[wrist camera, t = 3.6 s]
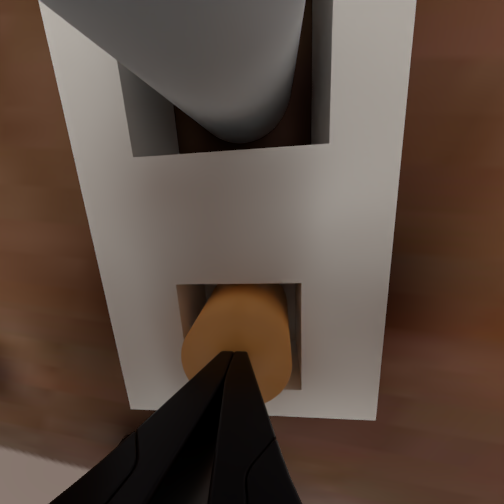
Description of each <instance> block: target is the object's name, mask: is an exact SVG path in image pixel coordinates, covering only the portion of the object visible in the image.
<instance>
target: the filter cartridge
mask: <svg viewBox="0 0 504 504" xmlns="http://www.w3.org/2000/svg"><path fill="white" fill-rule="evenodd" d="M39 1H41V2H42V3H43V4H45V5H46V6H47V7H48V8H50V9H51V10H52V11H54V12H55V13H56V14H58V15H59V16H60V17H61V18H63V19H64V20H65V21H67V22H68V23H69V24H70V25H72V26H73V27H74V28H76V29H77V30H78V31H80V32H81V33H82V34H83V35H85V36H86V37H87V38H89V39H90V40H91V41H92V42H94V43H95V44H96V45H98V46H99V47H100V48H102V49H103V50H104V51H105V52H107V53H108V54H109V55H111V56H112V57H113V58H114V59H116V60H117V61H118V62H120V63H121V64H122V65H124V66H125V67H126V68H127V69H129V70H130V71H131V72H133V73H134V74H135V75H136V76H138V77H139V78H140V79H142V80H143V81H144V82H146V83H147V84H148V85H149V86H151V87H152V88H153V89H155V90H156V91H157V92H158V93H160V94H161V95H162V96H164V97H165V98H166V99H168V100H169V101H170V102H171V103H173V104H174V105H175V106H177V107H178V108H179V109H180V110H182V111H183V112H184V113H186V114H187V115H188V116H190V117H191V118H192V119H193V120H195V121H196V122H197V123H199V124H200V125H201V126H202V127H204V128H205V129H206V130H208V131H209V132H210V133H212V134H213V135H214V136H216V137H218V138H219V139H222V140H224V141H227V142H231V143H249V142H253V141H256V140H258V139H260V138H262V137H264V136H265V135H267V134H268V133H270V132H271V131H272V130H273V129H274V128H275V127H276V126H277V125H278V123H279V122H280V121H281V119H282V118H283V116H284V114H285V112H286V110H287V107H288V105H289V101H290V97H291V91H292V85H293V78H294V72H295V66H296V59H297V53H298V46H299V40H300V33H301V27H302V21H303V14H304V8H305V1H306V0H39Z"/></svg>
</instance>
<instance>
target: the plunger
mask: <svg viewBox="0 0 504 504" xmlns="http://www.w3.org/2000/svg"><path fill="white" fill-rule="evenodd" d="M221 351H233V352H235V351H246V352H247V353H248V356H249V359H250V362H251V365H252V368H253V371H254V374H255V377H256V379H257V382H258V385H259V388H260V391H261V394H262V397H263V400H264V403H266V402H268V401H270V400H272V399H273V398H275V397H276V396H277V395H278V394H280V393H281V392H282V390H283V389H284V388H285V386H286V385H287V383H288V381H289V379H290V376H291V371H292V356H291V344H290V332H289V320H288V308H287V299H286V295H285V292H284V290H283V288H282V286H281V285H280V284H279V283H261V284H217V286H216V287H215V289H214V291H213V292H212V294H211V296H210V297H209V299H208V301H207V302H206V304H205V306H204V307H203V309H202V310H201V312H200V314H199V315H198V317H197V319H196V320H195V322H194V324H193V325H192V327H191V329H190V330H189V332H188V334H187V335H186V337H185V339H184V342H183V345H182V350H181V361H182V366H183V369H184V372H185V374H186V376H187V378H188V380H190V379H191V378H193V377H194V376H195V375H196V374H197V373H198V372H199V371H200V370H201V369H202V368H203V367H205V366H206V365H207V364H208V363H209V362H210V361H211V360H212V359H213V358H214V357H215V356H216V355H218V354H219V353H220V352H221Z"/></svg>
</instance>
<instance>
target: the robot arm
mask: <svg viewBox="0 0 504 504" xmlns="http://www.w3.org/2000/svg"><path fill="white" fill-rule="evenodd" d="M49 504H302V503H301V500H300V498H299V496H298V493H297V491H296V489H295V487H294V484H293V482H292V480H291V477H290V475H289V472H288V469H287V467H286V464H285V461H284V459H283V456H282V453H281V450H280V447H279V444H278V441H277V440H276V436H275V433H274V430H273V427H272V424H271V421H270V418H269V415H268V412H267V409H266V406H265V403H264V400H263V397H262V394H261V391H260V388H259V385H258V382H257V379H256V377H255V374H254V371H253V368H252V365H251V362H250V359H249V356H248V353H247V352H246V351H235V352H233V351H221V352H220V353H219V354H218V355H216V356H215V357H214V358H213V359H212V360H211V361H210V362H209V363H208V364H207V365H206V366H205V367H203V368H202V369H201V370H200V371H199V372H198V373H197V374H196V375H195V376H194V377H193V378H191V379H190V380H189V381H188V382H187V383H186V384H185V385H184V386H183V387H182V388H181V389H180V390H178V391H177V392H176V393H175V394H174V395H173V396H172V397H171V398H170V399H169V400H168V401H166V402H165V403H164V404H163V405H162V406H161V407H160V408H159V409H158V410H157V411H156V412H155V413H153V414H152V415H151V416H150V417H149V418H148V419H147V420H146V421H145V422H144V423H143V424H142V425H140V426H139V427H138V428H137V429H136V432H133V433H132V434H130V435H129V436H128V437H127V438H124V439H122V440H121V442H120V444H119V445H118V446H117V447H116V448H115V449H114V450H113V451H112V452H111V453H109V454H108V455H107V456H106V457H105V458H104V459H103V460H101V461H100V462H99V463H98V464H97V465H96V466H94V467H93V468H92V469H91V470H90V471H88V472H87V473H86V474H85V475H84V476H82V477H81V478H80V479H79V480H78V481H77V482H75V483H74V484H73V485H71V486H70V487H69V488H68V489H66V490H65V491H64V492H63V493H61V494H60V495H59V496H58V497H56V498H55V499H54V500H53V501H51V502H50V503H49Z"/></svg>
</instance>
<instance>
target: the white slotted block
mask: <svg viewBox="0 0 504 504" xmlns="http://www.w3.org/2000/svg"><path fill="white" fill-rule="evenodd" d="M38 1H39V0H38ZM39 5H40V10H41V14H42V18H43V23H44V27H45V32H46V36H47V41H48V45H49V49H50V54H51V58H52V63H53V67H54V72H55V76H56V80H57V85H58V89H59V94H60V98H61V103H62V107H63V111H64V116H65V120H66V125H67V129H68V134H69V138H70V142H71V147H72V151H73V156H74V160H75V165H76V169H77V173H78V178H79V182H80V187H81V191H82V196H83V200H84V204H85V209H86V213H87V218H88V222H89V227H90V231H91V235H92V240H93V244H94V249H95V253H96V257H97V262H98V266H99V271H100V275H101V280H102V284H103V288H104V293H105V297H106V302H107V306H108V311H109V315H110V319H111V324H112V328H113V333H114V337H115V342H116V346H117V350H118V355H119V359H120V364H121V368H122V373H123V377H124V381H125V386H126V390H127V395H128V399H129V404H130V408H131V409H139V410H158V409H159V408H160V407H161V406H162V405H163V404H164V403H165V402H166V401H168V400H169V399H170V398H171V397H172V396H173V395H174V394H175V393H176V392H177V391H178V390H180V389H181V388H182V387H183V386H184V385H185V384H186V383H187V382H188V381H189V380H188V378H187V376H186V374H185V372H184V369H183V366H182V361H181V350H182V345H183V342H184V339H185V337H186V335H187V334H188V332H189V330H190V329H191V327H192V325H193V324H194V322H195V320H196V319H197V317H198V315H199V314H200V312H201V310H202V309H203V307H204V306H205V304H206V302H207V301H208V299H209V297H210V296H211V294H212V292H213V291H214V289H215V287H216V286H217V284H261V283H279V284H280V285H281V286H282V288H283V290H284V292H285V295H286V299H287V308H288V320H289V332H290V344H291V356H292V371H291V376H290V379H289V381H288V383H287V385H286V386H285V388H284V389H283V390H282V392H281V393H280V394H278V395H277V396H276V397H275V398H273V399H272V400H270V401H268V402H266V403H265V406H266V409H267V412H268V415H269V416H290V417H312V418H333V419H355V420H376V411H377V401H378V391H379V380H380V370H381V360H382V350H383V339H384V329H385V319H386V308H387V298H388V288H389V277H390V267H391V257H392V247H393V236H394V226H395V216H396V205H397V195H398V185H399V175H400V164H401V154H402V144H403V133H404V123H405V113H406V102H407V92H408V82H409V72H410V61H411V51H412V41H413V30H414V20H415V10H416V0H312V98H311V145H301V146H287V147H273V148H259V149H245V150H231V151H217V152H203V153H189V154H179V147H178V139H177V130H176V122H175V114H174V106H173V103H171V102H170V101H169V100H168V99H166V98H165V97H164V96H162V95H161V94H160V93H158V92H157V91H156V90H155V89H153V88H152V87H151V86H149V85H148V84H147V83H146V82H144V81H143V80H142V79H140V78H139V77H138V76H136V75H135V74H134V73H133V72H131V71H130V70H129V69H127V68H126V67H125V66H124V65H122V64H121V63H120V62H118V61H117V60H116V59H114V58H113V57H112V56H111V55H109V54H108V53H107V52H105V51H104V50H103V49H102V48H100V47H99V46H98V45H96V44H95V43H94V42H92V41H91V40H90V39H89V38H87V37H86V36H85V35H83V34H82V33H81V32H80V31H78V30H77V29H76V28H74V27H73V26H72V25H70V24H69V23H68V22H67V21H65V20H64V19H63V18H61V17H60V16H59V15H58V14H56V13H55V12H54V11H52V10H51V9H50V8H48V7H47V6H46V5H45V4H43V3H42V2H41V1H39Z"/></svg>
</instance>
